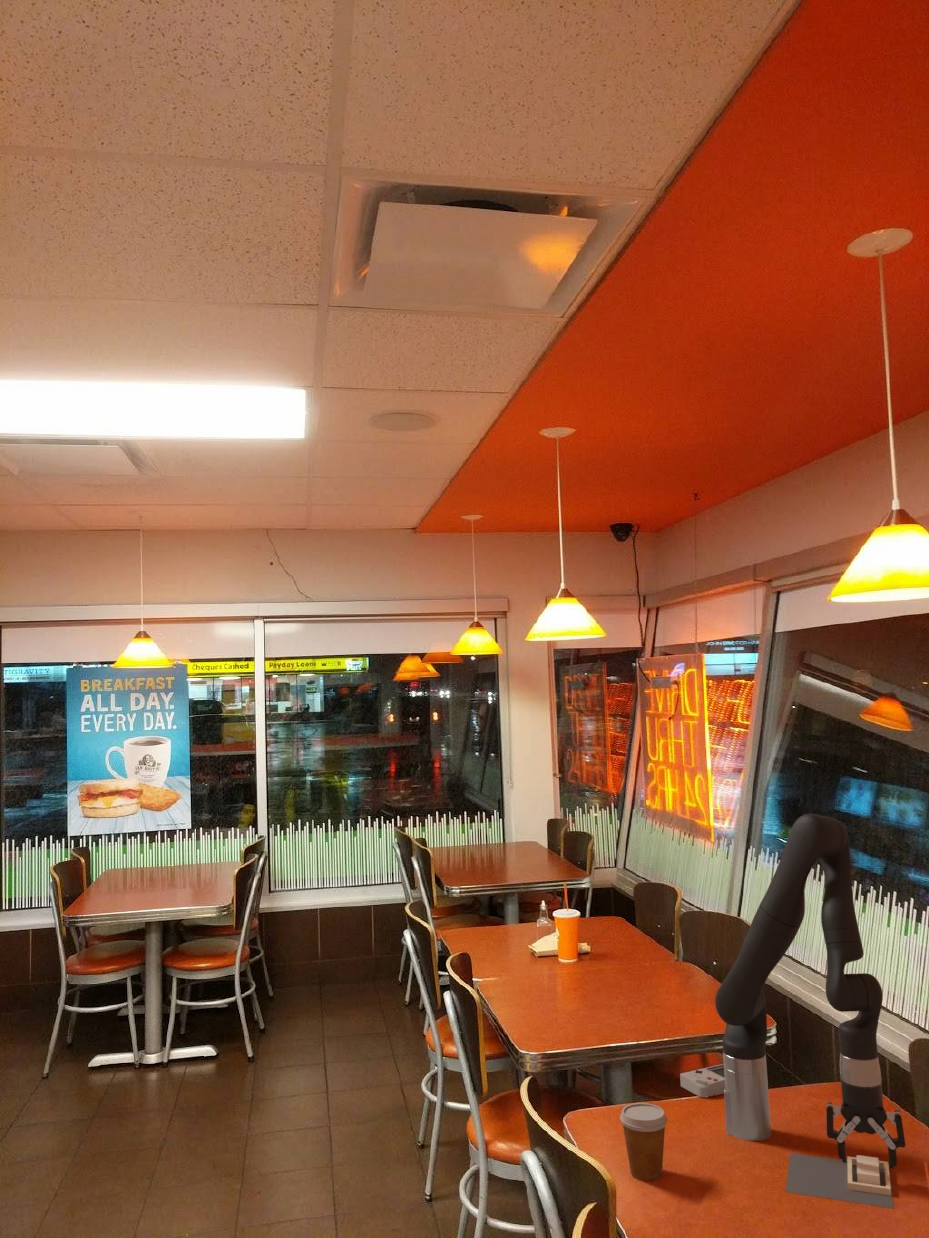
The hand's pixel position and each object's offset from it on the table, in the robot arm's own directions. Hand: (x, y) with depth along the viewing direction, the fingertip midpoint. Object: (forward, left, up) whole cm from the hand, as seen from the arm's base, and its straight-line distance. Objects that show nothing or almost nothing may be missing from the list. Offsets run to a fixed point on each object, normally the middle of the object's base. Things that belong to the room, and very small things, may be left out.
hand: (867, 1163), depth 180 cm
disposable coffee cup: (-42, -10, -4) cm, 43 cm away
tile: (0, 0, -3) cm, 3 cm away
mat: (-6, -2, -3) cm, 7 cm away
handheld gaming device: (-34, +39, -4) cm, 52 cm away
